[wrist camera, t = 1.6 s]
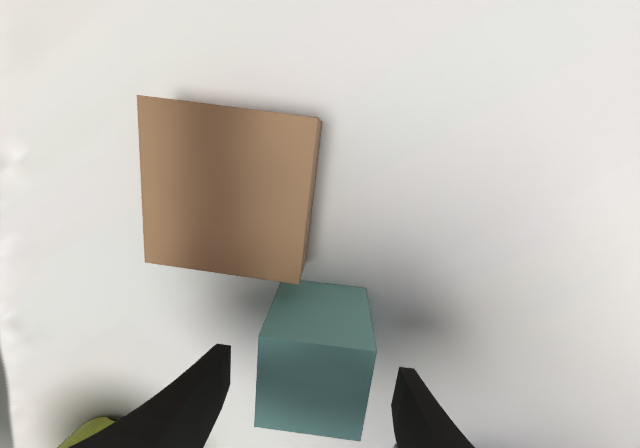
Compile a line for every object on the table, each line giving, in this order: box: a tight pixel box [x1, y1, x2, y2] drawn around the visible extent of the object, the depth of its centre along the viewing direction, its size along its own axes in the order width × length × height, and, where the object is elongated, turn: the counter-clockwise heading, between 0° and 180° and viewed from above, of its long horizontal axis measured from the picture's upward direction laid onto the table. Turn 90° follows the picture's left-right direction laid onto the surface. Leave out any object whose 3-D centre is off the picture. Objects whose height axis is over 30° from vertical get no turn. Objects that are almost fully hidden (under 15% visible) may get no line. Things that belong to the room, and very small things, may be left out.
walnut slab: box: [137, 95, 322, 284], centre depth 14 cm, size 7×7×3 cm
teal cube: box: [254, 280, 377, 441], centre depth 14 cm, size 4×4×5 cm
